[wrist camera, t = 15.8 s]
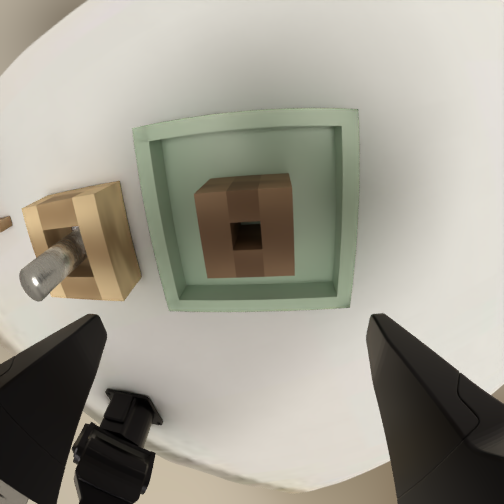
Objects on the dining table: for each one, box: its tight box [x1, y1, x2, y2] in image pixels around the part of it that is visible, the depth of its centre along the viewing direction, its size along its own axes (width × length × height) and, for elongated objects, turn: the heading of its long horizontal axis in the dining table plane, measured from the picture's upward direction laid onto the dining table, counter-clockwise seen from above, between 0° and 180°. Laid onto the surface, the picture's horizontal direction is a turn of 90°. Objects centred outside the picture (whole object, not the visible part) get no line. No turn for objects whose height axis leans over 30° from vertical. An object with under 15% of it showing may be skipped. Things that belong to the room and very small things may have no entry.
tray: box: [132, 108, 359, 312], centre depth 18 cm, size 13×13×2 cm
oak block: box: [22, 181, 142, 301], centre depth 20 cm, size 8×8×4 cm
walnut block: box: [194, 173, 295, 279], centre depth 17 cm, size 5×5×4 cm
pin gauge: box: [19, 227, 88, 301], centre depth 18 cm, size 2×2×8 cm
